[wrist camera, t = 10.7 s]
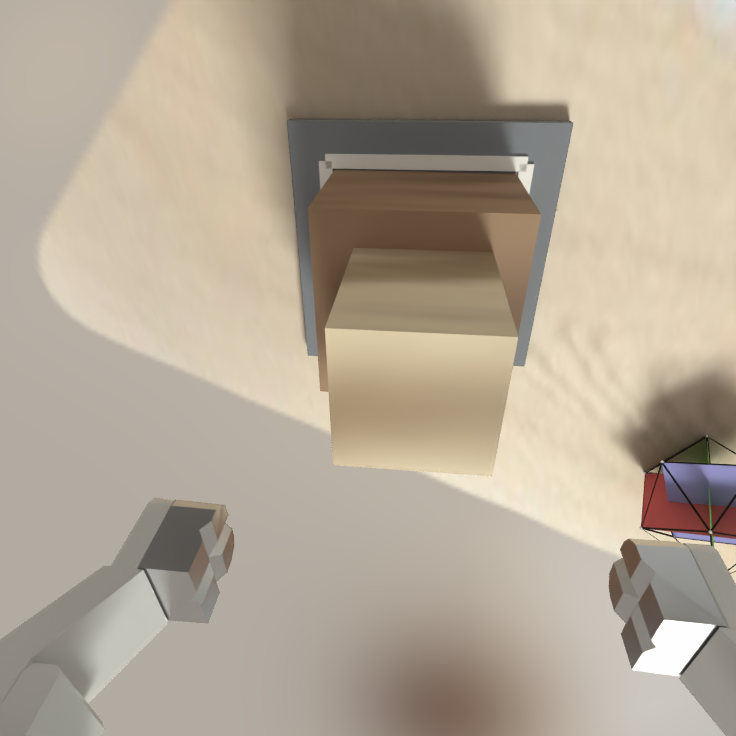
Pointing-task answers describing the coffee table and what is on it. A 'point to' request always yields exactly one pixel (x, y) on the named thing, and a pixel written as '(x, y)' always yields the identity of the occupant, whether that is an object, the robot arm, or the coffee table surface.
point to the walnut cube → (419, 227)
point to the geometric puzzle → (692, 500)
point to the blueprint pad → (431, 154)
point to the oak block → (419, 361)
